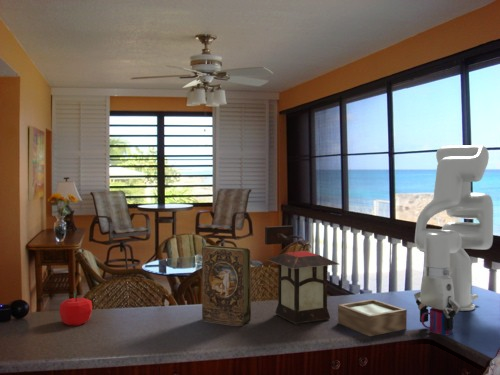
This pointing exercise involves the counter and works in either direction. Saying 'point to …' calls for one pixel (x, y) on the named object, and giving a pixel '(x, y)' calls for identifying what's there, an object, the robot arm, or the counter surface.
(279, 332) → the counter surface
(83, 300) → the apple
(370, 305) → the tray
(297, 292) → the lantern
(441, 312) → the mug
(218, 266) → the book
